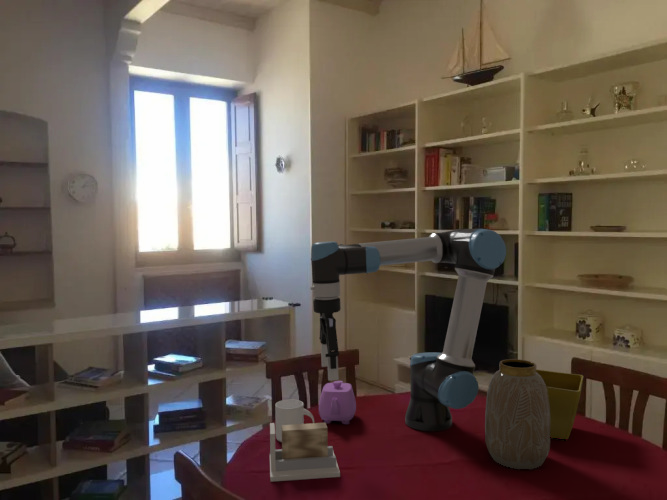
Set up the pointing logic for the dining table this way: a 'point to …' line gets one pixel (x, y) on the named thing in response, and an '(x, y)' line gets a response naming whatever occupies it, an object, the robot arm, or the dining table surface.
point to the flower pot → (562, 400)
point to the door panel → (304, 441)
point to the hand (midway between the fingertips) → (329, 372)
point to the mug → (289, 414)
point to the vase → (518, 416)
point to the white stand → (300, 464)
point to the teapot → (337, 402)
